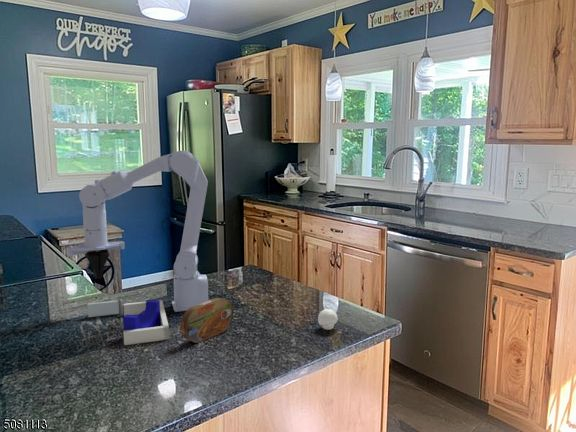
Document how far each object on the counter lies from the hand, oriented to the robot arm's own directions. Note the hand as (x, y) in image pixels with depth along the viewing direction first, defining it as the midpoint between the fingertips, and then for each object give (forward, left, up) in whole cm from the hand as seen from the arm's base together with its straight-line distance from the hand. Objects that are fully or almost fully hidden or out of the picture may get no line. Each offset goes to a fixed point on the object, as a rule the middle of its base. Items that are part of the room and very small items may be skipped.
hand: (98, 277), depth 120 cm
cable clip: (-10, +18, -10) cm, 23 cm away
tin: (-25, +26, -10) cm, 38 cm away
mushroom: (-54, +32, -10) cm, 64 cm away
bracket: (-11, +15, -9) cm, 21 cm away
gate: (-2, +4, -9) cm, 10 cm away
